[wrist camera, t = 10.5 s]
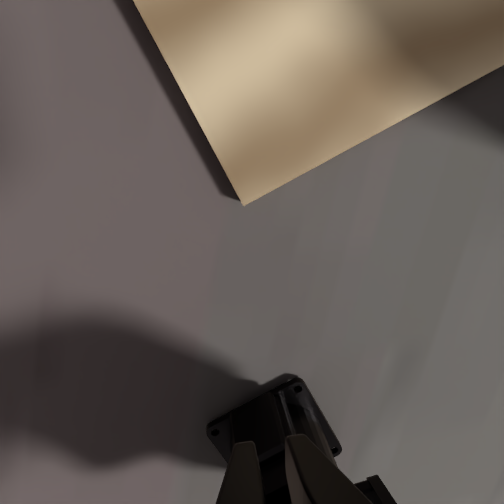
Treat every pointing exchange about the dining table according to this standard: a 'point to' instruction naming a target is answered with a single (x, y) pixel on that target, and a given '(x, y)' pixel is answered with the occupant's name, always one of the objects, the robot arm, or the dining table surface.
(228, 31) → the door stand
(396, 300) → the dining table surface
